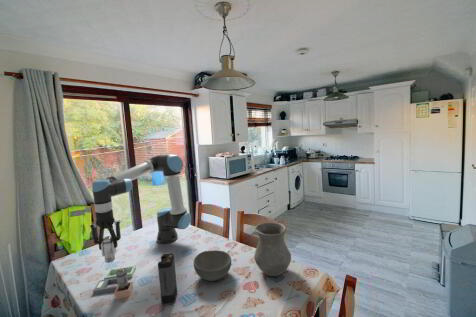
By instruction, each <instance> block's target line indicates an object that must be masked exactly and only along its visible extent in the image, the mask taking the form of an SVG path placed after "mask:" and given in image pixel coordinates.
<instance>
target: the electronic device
mask: <svg viewBox="0 0 476 317" xmlns="http://www.w3.org/2000/svg"><path fill="white" fill-rule="evenodd" d="M174 255H175V254H174V253H170V252H169V253H164V254H162V255H161V257H160V261H159V262H158V263H157V267H158V268H157V269H158V270H157V271H158V278H159V288H160V289H159V290H160V300H161V304H162V305H163V306H169V305H173V304H174V303H175V302H176V298H177V295H178V285H177V274H176V263H175V262H176V261H175V256H174Z"/></svg>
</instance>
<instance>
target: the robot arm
mask: <svg viewBox="0 0 476 317" xmlns="http://www.w3.org/2000/svg"><path fill="white" fill-rule="evenodd" d="M183 168H184V161H183V159H182V158H181V157H180V156H179V155H177V154H159V155H156V156H152V157H149V158H147V159H146V160H144V161H143V162H142V163H140V164H138V165H135V166H132V167H130V168H128V169H126V170H123V171H121V172H118V173H117V174H113V175H112V176H108V177H106V178H99V179H97V180H94V181H93V182H92V183H91V184H92V185H91V186H92V187H91V188H92V190H91V191H92V197H93V203H94V204H93V205H94V212H95V220H96V222H93V223H92V224H91V225H89V226H90V228H91V232H92V236H93V238H92V239H93V243H94V244H97V245H98V248H99V251H101V256H102V257H103V258H104V257H105V256H104V248H103V240H102V239H103V238H104V234H105V232H104V231H105V229H107V231H108V232H109V234H110V235H109V236H111V237H112V240H113V242H112V250H113V255H115V254H116V253H117V247H118V246H119V245H118V242H119V241H120V239H121V236H122V235H121V226H120V224H121V220H120V219H119V220H117V219H115V217H114V210H113V203H112V202H113V201H112V197H115V196H119V195H122V194H126V193H129V192H131V191H132V189H133V182H132V181H134V180H137V179H139V178H141V177H143V176H145V175H147V174H153V173H155V172H156V173H157V172H162V173H163V174H162V175H163V177H165V178H166V183H167V184H166V185H167V189H168V196H169V202H170V207H166V208H162V209H160V210H158V211H157V213H156V219H157V229H158V231H157V236H156V242H157V243H158V244H163V245H164V244H170V243H173V242H175V241H176V240H178V238H179V236H178V232H177V231H176V229H178V230H186V229H188V227H189V226H190V224H191V222H192V215H191V214H190V213H189V212H187V211H188V210H187V208H186V207H185V206H184V198H183V193H182V185H181V180H180V175H181V173H182V170H183ZM113 224H114V226H115V229H114V226H113ZM97 226H98V227H99V233H98V228H97Z"/></svg>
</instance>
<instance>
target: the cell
mask: <svg viewBox="0 0 476 317" xmlns="http://www.w3.org/2000/svg"><path fill="white" fill-rule="evenodd" d="M102 240H103V248H104V256H103V257H104V262H105V263H106V264H110V263H112V262H114V261H115V260H116V257H115V255H113V250H112V242H113V240H112V237H111V235H107V236H105V237H103V239H102Z"/></svg>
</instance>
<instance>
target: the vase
mask: <svg viewBox="0 0 476 317" xmlns="http://www.w3.org/2000/svg"><path fill="white" fill-rule="evenodd" d="M254 231H255V233H256V234H257V235H258V242H257V246H256V248H255V252H254V261H255V263H256V266H257V267H258V269H259V270H260V271H261V272H262V273H263V274H265V275H267V276H269V277H278V276H280V275H282V274H284V273H285V272H286V270H288V268H289V266H290V264H291V261H292V254H291V252H290V250H289V249H288V247H287V244H286V241H285V235H286V234H285V233H286V231H287V227H286V225H285V224H283V223H281V222H275V221H274V222H273V221H271V222H270V221H268V222H267V221H266V222H263V223H262V222H261V223H259V224H257V225H256V226H254Z"/></svg>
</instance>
